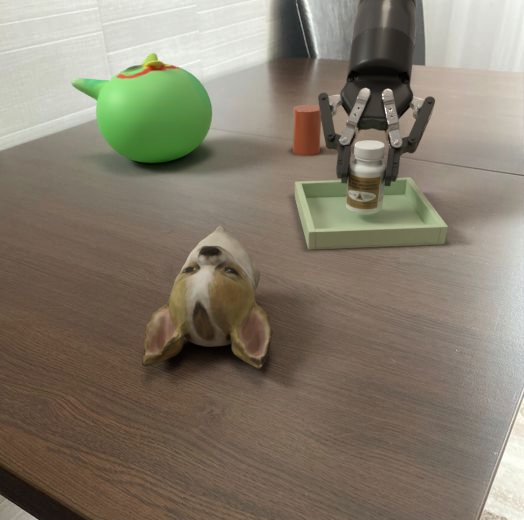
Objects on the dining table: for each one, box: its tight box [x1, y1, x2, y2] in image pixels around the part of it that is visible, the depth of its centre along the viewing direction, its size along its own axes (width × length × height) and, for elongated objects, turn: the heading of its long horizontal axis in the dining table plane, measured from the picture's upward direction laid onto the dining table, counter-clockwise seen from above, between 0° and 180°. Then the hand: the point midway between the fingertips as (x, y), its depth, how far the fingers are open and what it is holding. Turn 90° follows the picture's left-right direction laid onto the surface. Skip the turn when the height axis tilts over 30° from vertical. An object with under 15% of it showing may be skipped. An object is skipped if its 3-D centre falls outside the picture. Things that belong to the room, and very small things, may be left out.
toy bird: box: [70, 52, 213, 164], centre depth 85 cm, size 18×17×15 cm
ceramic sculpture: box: [141, 225, 273, 370], centre depth 48 cm, size 11×9×15 cm
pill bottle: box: [346, 139, 387, 214], centre depth 66 cm, size 4×4×8 cm
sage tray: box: [294, 177, 449, 250], centre depth 68 cm, size 16×16×2 cm
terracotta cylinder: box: [292, 104, 322, 157], centre depth 88 cm, size 4×4×7 cm
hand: (366, 181), depth 64 cm, fingers closed on pill bottle, 4 cm apart
